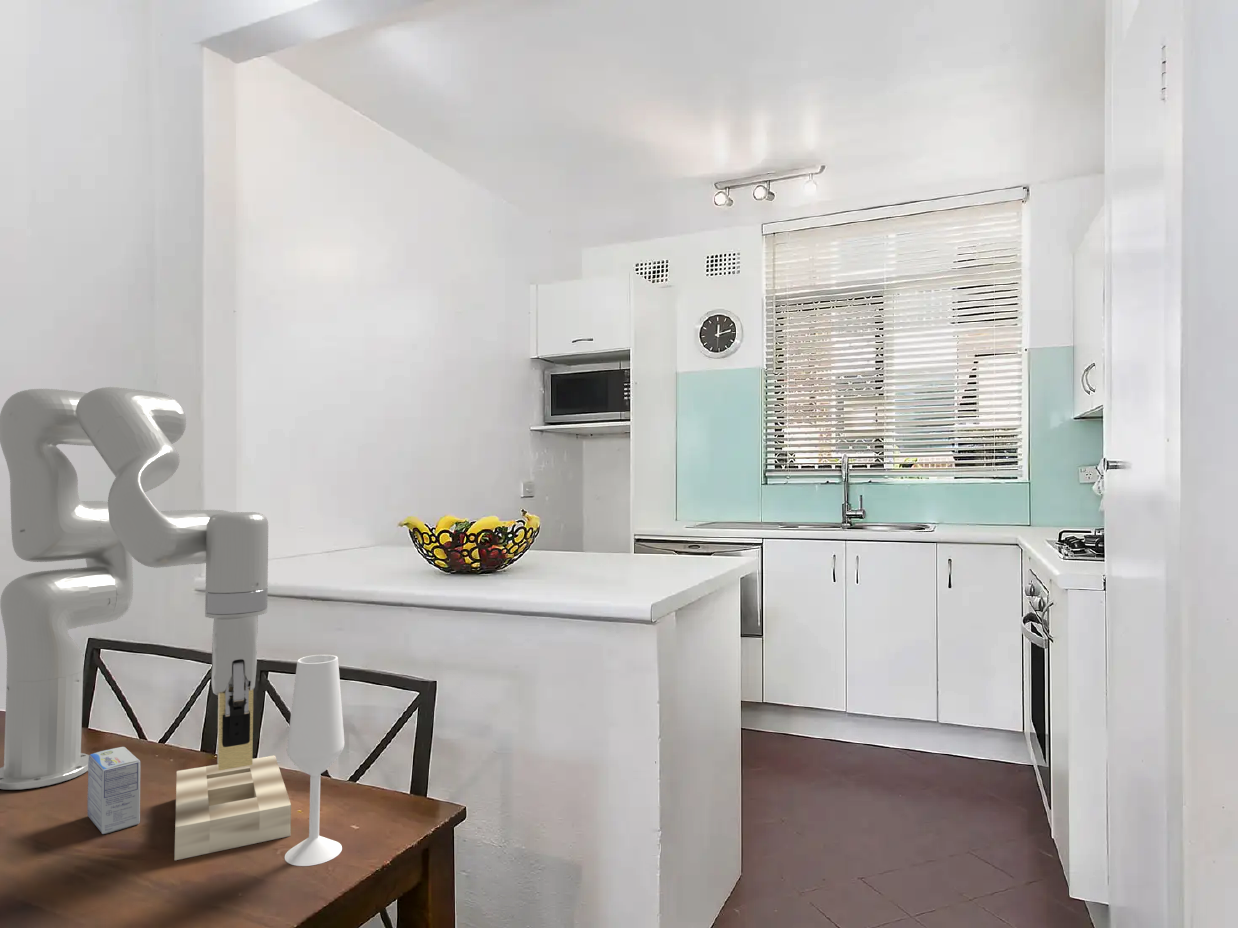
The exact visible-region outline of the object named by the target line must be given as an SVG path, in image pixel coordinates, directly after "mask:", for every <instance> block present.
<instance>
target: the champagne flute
mask: <svg viewBox="0 0 1238 928" xmlns="http://www.w3.org/2000/svg"><path fill="white" fill-rule="evenodd" d="M339 667H340V666H339V657H338V656H337V655H334V654H313V655H307V656H303V657H301V658H299V659H297V662H296V669H295V678H294V686H293V694H292V703H291V704H292V705H291V710H290V712H291V713H290V719H289V728H288V736H287V745H286V753H287V756H288V759H290V761H291V762H292V764H294V766H295V767H297V768H298V769H299V770H301V771H302V772H303V773H304V774H307V775H309V776H310V778H309V779H310V780H309V783H310V784H309V818H308V819H309V820H308V821H309V823H308V827H309V828H308V837H307V838H306V839H304V840H302V841H301V842H299V843H298V844H296V845H294V846H293V847H292V848H290V849H288V851H287V852H286V853H285V854H284V861H285V862H286V863H287V864H290V865H292V866H295V867H296V866H297V867H309V866H316V865H321V864H324V863H326V862H329V861H331V860H333V859H335V858H336V857H338V856H339V855H340V854H341V852H342V850H343V847H342V844H341V843H340V842H339V841H336V840H334V839H330V838H328V837H324V836H323V835H320V812H321V811H320V810H321V774H323V773H324V772H326V770H328V769H329V768H330V767H331V765H332V764H334V763H335V762H336V761H337V759H338V758H339V757H340V756H341V754H342V752H343V750H344V748H345V733H344V732H345V731H344V718H343V707H342V706H343V705H342V694H341V693H342V692H341V680H340V678H341V677H340V669H339Z"/></svg>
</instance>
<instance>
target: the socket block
mask: <svg viewBox="0 0 1238 928" xmlns="http://www.w3.org/2000/svg"><path fill="white" fill-rule="evenodd" d="M175 781H176V782H175V783H176V785H175V787H176V788H175V789H176V790H175V793H176V794H175V822H174V823H175V824H174V825H175V828H174V829H175V830H174V831H175V832H174V861H177V860H179V861H180V860H183V859H188V858H193V857H198V856H201V855H202V856H203V855H206V854H212V853H216V852H221V851H225V850H229V849H235V848H239V847H244V846H249V845H253V844H257V843H259V844H260V843H262V842H263V843H264V842H267V841H272V840H278V839H281V838H288V837H291V835H292V833H291V830H292V829H291V827H292V826H291V825H292V823H291V822H292V804H291V800H290V797H289V794H288V791H287V788H286V784H285V783H284V782H285V781H284V779H283V776H282V773H281V770H280V767H279V763H278V761H277V757H276V755H269V756H263V757H262V756H261V757H256V758H252V765H248V766H242V767H236V768H231V769H225V770H218V764H212V765H207V766H206V765H205V766H200V767H194V768H188V769H181V770H180V769H179V770H176V780H175Z"/></svg>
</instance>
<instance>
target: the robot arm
mask: <svg viewBox="0 0 1238 928" xmlns="http://www.w3.org/2000/svg"><path fill="white" fill-rule="evenodd" d="M186 427H187V417H186V414H185V411H184V408H183V407H182V406H181V404H180V403H179V401H177V399H175V398H174V397H172V396H171V395H169V394H166V393H163V392H158V391H156V392H155V391H148V390H142V389H141V390H140V389H135V388H134V389H133V388H125V387H114V386H112V387H111V386H109V387H106V386H105V387H100V388H95V389H92V390H90V391H89V392H82V391H81V392H80V391H74V390H68V389H67V390H66V389H57V388H56V389H55V388H30V389H24V390H21V391H17V392H16V393H14V394H12V395H11V396H9V398H7V399H6V401H5V402H4V404H3V405H2V407H1V410H0V447H1V450H2V453H3V456H4V459H5V462H6V466H7V469H8V473H9V474H8V475H9V483H10V485H9V489H10V490H9V491H10V492H9V495H10V497H9V498H10V521H11V522H10V524H11V526H10V528H11V542H12V547H13V551H14V553H15V554H16V556H17V557H18V558H20V559H21V560H22V561H25V562H32V563H47V562H48V563H50V562H53V563H54V562H65V561H74V560H75V561H76V560H85V564H86V567H78V568H76V567H75V568H62V569H61V568H59V569H52V570H42V571H35V572H30V573H28V574H23V575H21V576H18V577H17V578H14V579H13V580H11V581H10V582H9V583H8V584H7V585H6V586H5V587H4V589H3V591H2V593H1V595H0V614H1V618H2V619H1V620H2V623H3V629H4V634H5V635H4V636H5V643H6V645H5V646H6V686H5V687H6V691H5V694H6V695H5V697H6V698H5V719H4V720H5V722H4V723H5V726H4V754H3V755H4V758H3V766H2V767H1V766H0V790H5V791H6V790H7V791H8V790H9V791H15V790H27V789H28V790H29V789H35V788H36V789H37V788H40V787H47V786H51V785H52V786H53V785H55V784H59V783H62V782H65V781H68V780H69V781H70V780H71V779H74V778H77V777H79V776H81V775H83V774H85V773H86V772H88V762H89V755H90V754H86V753H83V752H82V726H83V725H82V723H83V687H84V656H83V652H82V650H81V648H80V646H79V645H78V644H77V642H75V640H74V639H73V638H72V637H71V636H70V634H69V632H68V631H69V630H73V629H76V628H81V627H86V626H87V627H88V626H93V625H99V624H106V623H109V622H113V621H117V620H118V619H120V618H122V617H124V616H125V615H126V614H127V612H128V611H129V610H130V608H131V605H132V602H133V596H134V574H133V573H134V572H133V559H134V560H135V561H137V562H138V563H140V565H144V566H146V567H148V568H153V569H158V568H159V569H160V568H169V567H178V566H179V567H180V566H186V565H187V566H188V565H189V566H190V565H201V564H205V594H204V595H205V597H204V599H205V601H204V602H205V603H204V604H205V605H204V606H205V607H204V612H205V613H204V617H205V618H208V619H213V623H212V625H213V626H212V627H213V628H212V638H211V639H212V640H211V641H212V642H211V643H212V645H211V649H212V650H211V688H212V693H213V694H214V695H216V696H218V695H219V692H224V691H225V716H223V733H222V744H223V747H230V746H236V745H242V744H247V743H249V741H250V712H249V691H251V690H252V689H253V690H254V689H255V687H256V678H257V677H256V675H257V665H258V664H257V663H258V661H257V660H258V634H259V633H258V632H259V631H258V626H259V624H258V622H259V620H258V619H259V616H262V615H264V614H266V613H268V594H269V593H268V591H269V590H268V585H269V584H268V583H269V581H268V578H269V574H268V573H269V571H268V570H269V569H268V568H269V521H268V518H267V517H266V516H265V514H263V513H260V512H253V511H252V512H251V511H238V512H237V511H235V512H234V511H233V512H232V511H228V510H223V509H199V510H197V509H186V510H185V509H181V510H180V509H179V510H164V511H163V510H162V511H161V510H159V509H158V508H157V507H156V506H155V505H154V504H153V503H152V501H151V500H150V498H149V497H148V496H147V494H146V492H149V491H152V490H153V489H156V488H157V487H159V486H161V485H162V484H164V483H165V482H167V481H168V480H169V479H170V478H172V476H174V475H175V473H176V471H177V469H179V466H180V461H181V460H180V455H179V451H178V450H177V449H176V448H175V446H174V444H175V443H176V442H178V441H179V440H180V439H181V438H182V436H183V435H184V433H185V430H186ZM58 445H69V446H70V445H72V446H85V447H86V446H89V447H91V446H92V447H94V448H95V450H96V451H97V453H98V454H99V455H100V457H101V458H102V460H103V461H104V462H105V464H106V465H107V467H108V469H109V470H110V471H111V473H112V474H113V475H114V477H115V478H114V480H113V482H112V484H111V486H110V489H109V493H108V498H107V501H104V500H81V499H80V498H79V497H80V496H79V487H78V484H79V482H78V481H79V479H78V474H77V470H76V469H75V466H74V464H73V463H72V462H71V461H70V459H69V458H68V457H67V456H66V455H65V453H64V452H63V451H62V450H61V449H60V448H59V447H58ZM244 685H245V690H244ZM229 687H233V691H229ZM230 696H233V698H231V700H230Z"/></svg>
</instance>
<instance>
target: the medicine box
mask: <svg viewBox="0 0 1238 928" xmlns="http://www.w3.org/2000/svg"><path fill="white" fill-rule="evenodd" d="M88 755H89V762H88V771H87V817H88V818H89V819H90V820H91V822H92V823H93V824H94V825H95V826H96V828H97V829H98V830H99V832H101V834H102V835H105V834H109V833H113V832H114V833H115V832H116V831H120V830H123V829H127V828H130V827H133V826H138V825H139V824H140V822H141V760H140V759H139V758H137V757H136V756H135V755H134V754H133V753H132V752H131V751H130V750H129V749H127V748H126V747H125V746H120V747H114V748H110V749H105V750H100V751H97V752H94V753H90V754H88Z"/></svg>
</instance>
